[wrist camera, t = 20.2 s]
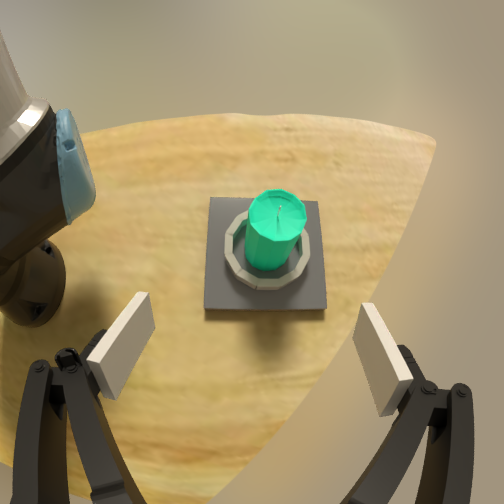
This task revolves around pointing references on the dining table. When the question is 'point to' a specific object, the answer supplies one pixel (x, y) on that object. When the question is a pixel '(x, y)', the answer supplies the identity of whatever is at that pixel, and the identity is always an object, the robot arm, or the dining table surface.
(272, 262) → the candle
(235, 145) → the dining table surface
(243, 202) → the candle stand
